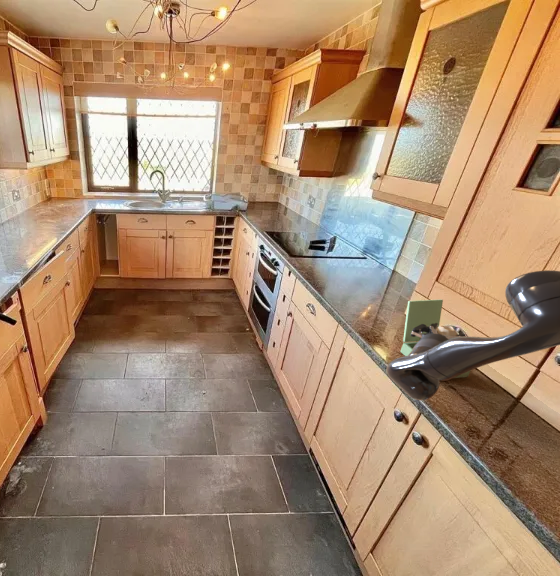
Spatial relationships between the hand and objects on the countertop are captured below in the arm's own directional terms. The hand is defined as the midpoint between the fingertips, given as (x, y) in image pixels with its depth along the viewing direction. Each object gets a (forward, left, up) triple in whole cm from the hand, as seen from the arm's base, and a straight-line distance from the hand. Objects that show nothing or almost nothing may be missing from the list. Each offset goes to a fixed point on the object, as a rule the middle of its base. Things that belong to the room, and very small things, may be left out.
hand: (447, 330), depth 95 cm
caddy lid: (+5, -5, -1) cm, 7 cm away
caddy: (+1, +2, -12) cm, 12 cm away
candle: (+1, +2, -8) cm, 9 cm away
